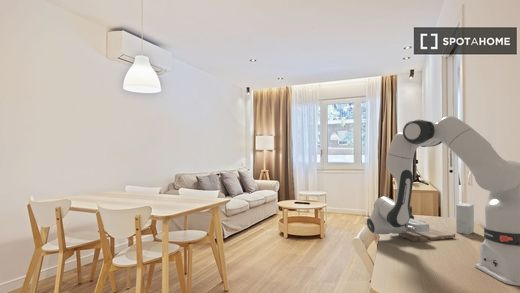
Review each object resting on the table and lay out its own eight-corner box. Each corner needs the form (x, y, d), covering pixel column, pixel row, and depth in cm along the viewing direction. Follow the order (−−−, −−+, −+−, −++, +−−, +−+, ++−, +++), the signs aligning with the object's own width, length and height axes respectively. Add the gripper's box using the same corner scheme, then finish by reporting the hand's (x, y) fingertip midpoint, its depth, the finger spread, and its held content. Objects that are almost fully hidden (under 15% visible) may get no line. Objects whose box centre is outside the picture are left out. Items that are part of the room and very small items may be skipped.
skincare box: (461, 230, 166) (461, 202, 167) (474, 232, 161) (474, 204, 162) (456, 232, 161) (455, 204, 161) (469, 235, 156) (468, 205, 157)
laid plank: (415, 241, 145) (414, 238, 145) (398, 235, 156) (398, 231, 156) (427, 240, 146) (427, 237, 146) (410, 234, 158) (410, 231, 158)
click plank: (430, 237, 146) (455, 234, 149) (413, 231, 158) (436, 228, 161) (430, 240, 146) (455, 237, 149) (413, 234, 158) (436, 231, 161)
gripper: (413, 222, 140) (439, 220, 143) (386, 213, 160) (409, 212, 163) (413, 236, 140) (439, 234, 143) (386, 225, 160) (410, 224, 163)
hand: (423, 222), depth 153 cm, fingers closed
